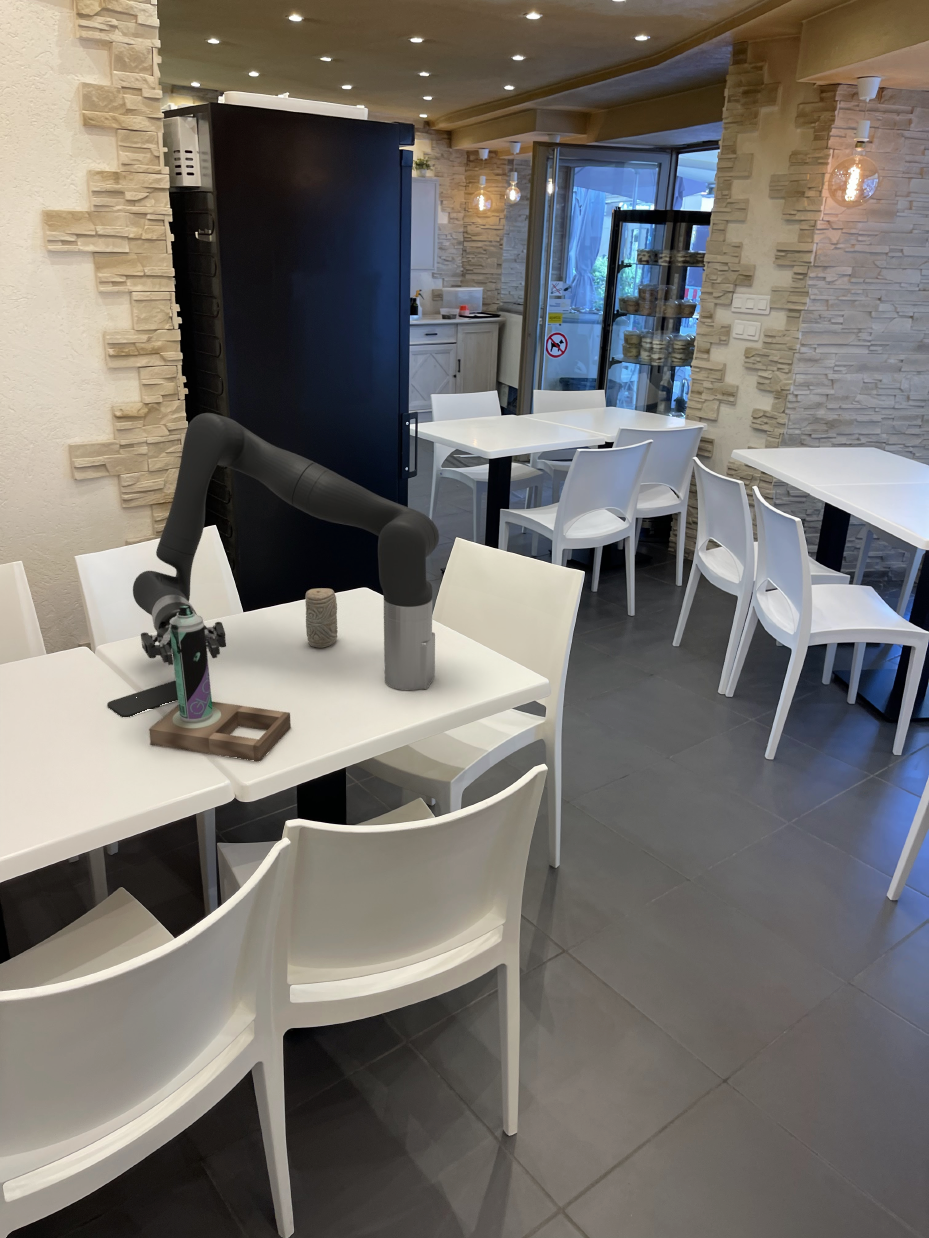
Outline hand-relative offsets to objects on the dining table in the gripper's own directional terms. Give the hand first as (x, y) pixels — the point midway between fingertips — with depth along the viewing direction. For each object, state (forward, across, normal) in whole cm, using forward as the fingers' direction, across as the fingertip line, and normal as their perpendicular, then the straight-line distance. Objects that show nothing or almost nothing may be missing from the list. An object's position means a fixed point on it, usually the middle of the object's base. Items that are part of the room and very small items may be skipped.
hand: (192, 656), depth 148 cm
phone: (-19, -5, +16) cm, 25 cm away
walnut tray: (+1, +3, +16) cm, 16 cm away
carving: (-31, +31, +16) cm, 47 cm away
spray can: (-3, 0, +12) cm, 13 cm away
